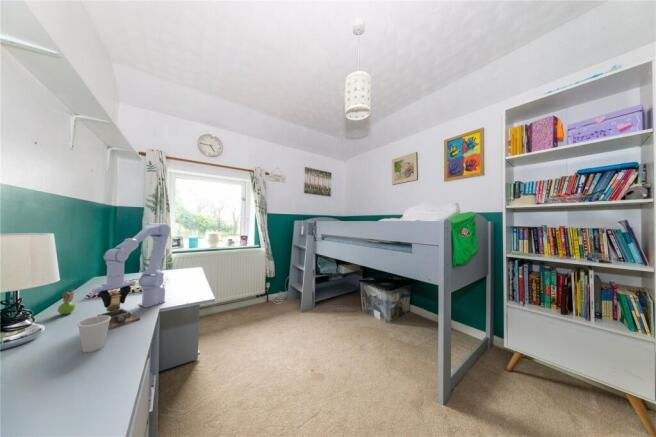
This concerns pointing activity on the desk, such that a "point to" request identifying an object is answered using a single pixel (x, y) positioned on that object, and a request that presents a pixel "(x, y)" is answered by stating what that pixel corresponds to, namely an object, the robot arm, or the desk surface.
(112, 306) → the cylinder
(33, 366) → the desk surface
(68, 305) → the snail figurine
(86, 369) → the desk surface
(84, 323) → the dixie cup
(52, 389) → the desk surface
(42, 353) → the desk surface
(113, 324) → the board
